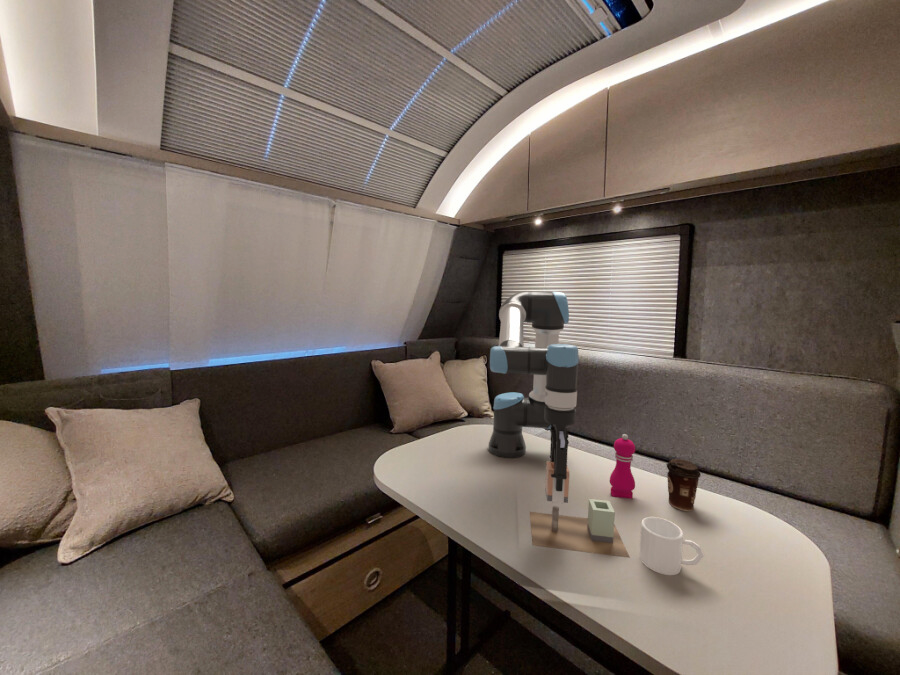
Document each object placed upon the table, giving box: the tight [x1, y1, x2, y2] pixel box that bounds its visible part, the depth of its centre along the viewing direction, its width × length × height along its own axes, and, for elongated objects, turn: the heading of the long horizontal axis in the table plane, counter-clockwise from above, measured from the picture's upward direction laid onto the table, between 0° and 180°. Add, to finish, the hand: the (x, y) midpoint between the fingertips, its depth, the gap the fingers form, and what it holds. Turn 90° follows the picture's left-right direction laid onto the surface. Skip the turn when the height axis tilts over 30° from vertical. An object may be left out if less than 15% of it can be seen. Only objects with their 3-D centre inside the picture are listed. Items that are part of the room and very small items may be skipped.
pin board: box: [529, 505, 631, 559], centre depth 90 cm, size 14×22×8 cm, turn 80°
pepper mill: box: [609, 433, 636, 500], centre depth 110 cm, size 7×7×20 cm
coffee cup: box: [665, 458, 701, 512], centre depth 106 cm, size 9×8×13 cm
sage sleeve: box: [587, 498, 616, 543], centre depth 89 cm, size 5×5×8 cm
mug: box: [638, 516, 705, 576], centre depth 79 cm, size 8×12×10 cm
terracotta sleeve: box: [544, 460, 570, 504], centre depth 90 cm, size 5×5×8 cm
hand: (556, 495), depth 90 cm, fingers closed on terracotta sleeve, 5 cm apart
